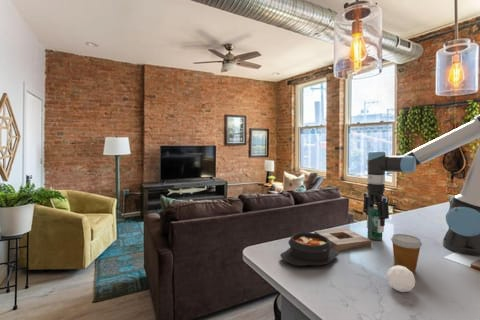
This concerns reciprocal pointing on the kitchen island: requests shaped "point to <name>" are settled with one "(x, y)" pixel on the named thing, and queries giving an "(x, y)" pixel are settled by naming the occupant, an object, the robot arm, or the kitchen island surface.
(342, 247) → the frame
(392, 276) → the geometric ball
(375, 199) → the robot arm
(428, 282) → the kitchen island surface
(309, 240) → the casserole
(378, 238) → the can
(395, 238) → the disposable coffee cup
